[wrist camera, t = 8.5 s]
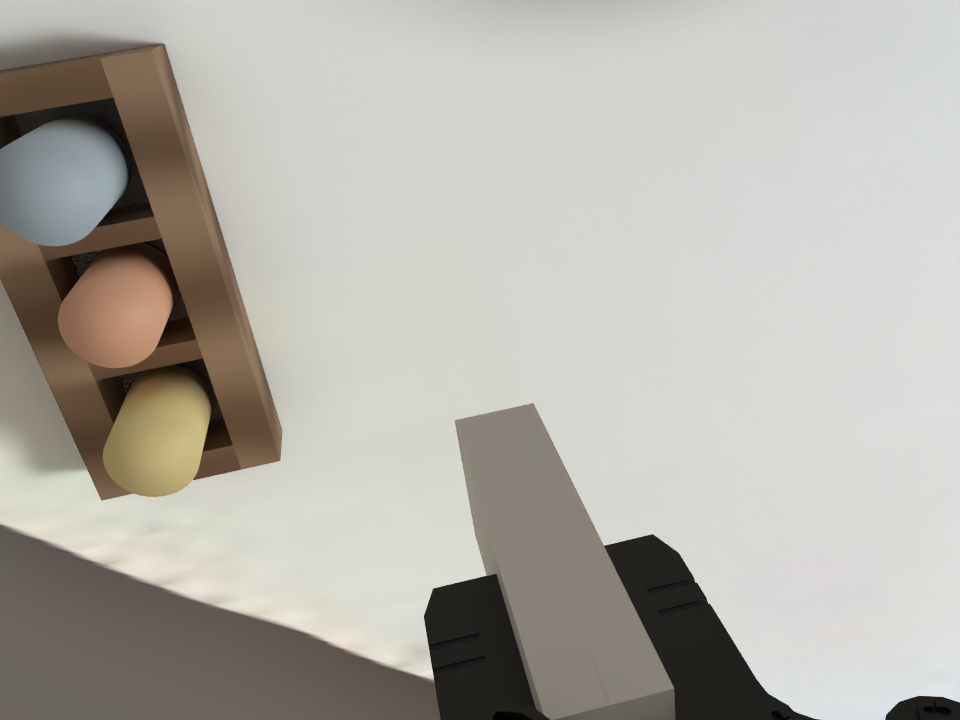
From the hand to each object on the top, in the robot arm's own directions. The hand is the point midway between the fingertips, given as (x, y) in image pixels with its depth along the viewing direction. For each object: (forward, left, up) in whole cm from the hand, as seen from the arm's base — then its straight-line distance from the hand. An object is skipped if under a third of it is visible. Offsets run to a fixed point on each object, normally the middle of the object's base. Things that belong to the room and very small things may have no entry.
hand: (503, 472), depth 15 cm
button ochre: (+9, -13, -24) cm, 29 cm away
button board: (+3, -13, -26) cm, 29 cm away
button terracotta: (+3, -13, -26) cm, 29 cm away
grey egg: (-3, -13, -24) cm, 28 cm away
